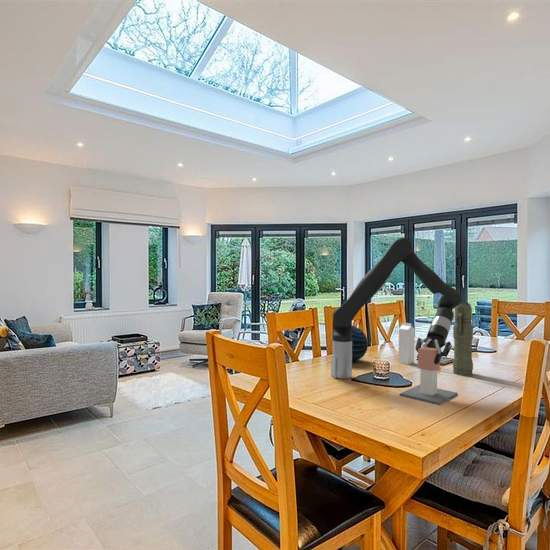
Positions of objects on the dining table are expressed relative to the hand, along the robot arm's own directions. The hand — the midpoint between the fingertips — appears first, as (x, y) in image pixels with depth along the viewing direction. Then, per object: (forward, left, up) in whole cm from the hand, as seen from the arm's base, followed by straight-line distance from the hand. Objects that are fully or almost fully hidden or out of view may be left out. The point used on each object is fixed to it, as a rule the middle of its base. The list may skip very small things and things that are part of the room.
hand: (427, 361), depth 158 cm
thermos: (+37, +30, -14) cm, 50 cm away
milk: (+21, +56, -14) cm, 62 cm away
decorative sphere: (-9, +64, -14) cm, 66 cm away
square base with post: (+1, +1, -14) cm, 14 cm away
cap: (+1, +1, -3) cm, 3 cm away
